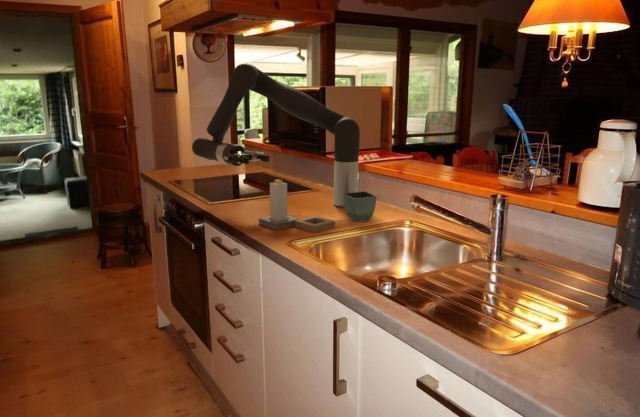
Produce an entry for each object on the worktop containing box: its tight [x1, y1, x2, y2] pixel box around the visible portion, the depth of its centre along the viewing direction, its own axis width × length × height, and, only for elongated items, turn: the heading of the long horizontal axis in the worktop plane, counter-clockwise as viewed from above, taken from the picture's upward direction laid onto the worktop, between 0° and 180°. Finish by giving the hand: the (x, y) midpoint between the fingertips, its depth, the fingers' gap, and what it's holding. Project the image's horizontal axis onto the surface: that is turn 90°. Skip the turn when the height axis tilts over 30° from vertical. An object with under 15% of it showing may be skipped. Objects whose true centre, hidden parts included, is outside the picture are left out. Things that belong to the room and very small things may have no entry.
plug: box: [269, 179, 288, 222], centre depth 159 cm, size 4×4×15 cm
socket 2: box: [293, 215, 337, 233], centre depth 158 cm, size 10×10×2 cm
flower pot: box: [343, 190, 378, 223], centre depth 166 cm, size 9×9×9 cm
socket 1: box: [258, 214, 300, 231], centre depth 161 cm, size 10×10×2 cm
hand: (258, 159), depth 163 cm, fingers open, 8 cm apart
